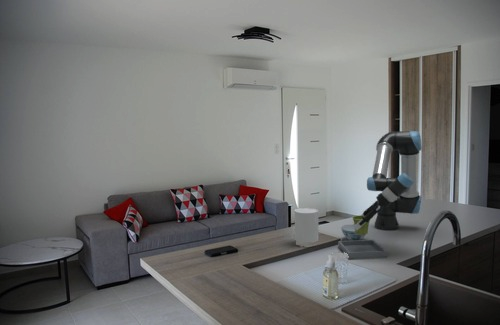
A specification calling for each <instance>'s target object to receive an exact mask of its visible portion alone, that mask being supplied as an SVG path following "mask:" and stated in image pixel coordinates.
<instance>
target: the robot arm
mask: <svg viewBox="0 0 500 325" xmlns="http://www.w3.org/2000/svg"><path fill="white" fill-rule="evenodd" d="M375 150H376V157H375V162H374V166H373V172H372V176H371V177H367V179H366V187H367V188H366V189H367V190H368V191H370V192H380V193H379V194H377V196H376V200H375V201H374V202H373V203H372V204H371V205H370V206H369V207H368V208H366V209H365V210H364V211H363V212H362V214H361V215H360V216H365V217H364V218H363V217H362V219H361V220H360V221H359V222H358V223H357V224H355V225H354V224H353V225H354V226H353V227H354V228H355V229H356V230H358V229H359V228H360V227H362V226H363V225H364V224H365V223H366V222H368V221H369V220H371V219H373V217H375V215H376V218H375V221H374V228H375V229H377V230H381V231H394V230H395V231H396V230H398V229H399V228H400V227H399V226H400V225H399V221H398V218H397V213H399V214H410V215H412V214H413V215H414V214H416V215H417V214H419V213H420V210H421V203H422V195H420V191H419V192H418V190H417V156H418V155H419V153H420V151H422V138H421V135H420V132H419V131H417V130H416V131H414V130H406V131H405V130H404V131H403V130H402V131H394V130H393V131H389V132H387V133H385V134H384V135H382V136H381V138H380V139H379V140H378V141H377V144H376V148H375ZM393 151H398V154H399V156H401V158H400V159H401V160H400V161H401V174H400V175H398V176H397V177H395V178H394V177H387V176H388V169H389V164H390V158H391V157H390V156H391V154H392V153H393ZM366 218H367V219H366ZM369 222H370V221H369Z"/></svg>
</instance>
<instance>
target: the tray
mask: <svg viewBox="0 0 500 325" xmlns="http://www.w3.org/2000/svg"><path fill="white" fill-rule="evenodd" d="M337 244H338V249H339V250H340V249H341V250H342V251H341V250H340V251H341V252H342V253H343V252H345V253H347V254H348V256H349V260H364V259H365V260H366V259H368V260H369V259H387V258H388V251H387V249H385V248H384V247H383V246H382V245H380V244H379V243H378V242H376V240H374V239H361V240H354V241H349V240H338V243H337Z"/></svg>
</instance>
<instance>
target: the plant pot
mask: <svg viewBox="0 0 500 325" xmlns="http://www.w3.org/2000/svg"><path fill="white" fill-rule="evenodd" d="M362 217H363V218H364V217H365V216H361V215H354V216H353V215H352V220H353V223H354V224H353V225H355V224H357V223H358V222H359V221H360V220H361V219H362ZM366 219H367V218H366ZM370 220H371V219H370ZM370 220H369V221H368V222H366V223H365V224H364V225H363V226H362V227H360V228H359V229H358V230H356V229H355V232H356V234H359V235H365V234H366V235H368V232H369V225H370ZM366 235H365V236H366Z"/></svg>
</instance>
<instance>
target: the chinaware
mask: <svg viewBox="0 0 500 325" xmlns="http://www.w3.org/2000/svg"><path fill="white" fill-rule="evenodd" d="M353 226H354V224H345V225H342V226H341V232H342V234H343V235H344V237H345V238H346V239H347V240H348V241H354V240H363V239H364V237H365V236H366V235H367V234H365V235H359V234H356V232H355V228H354V227H353Z"/></svg>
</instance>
